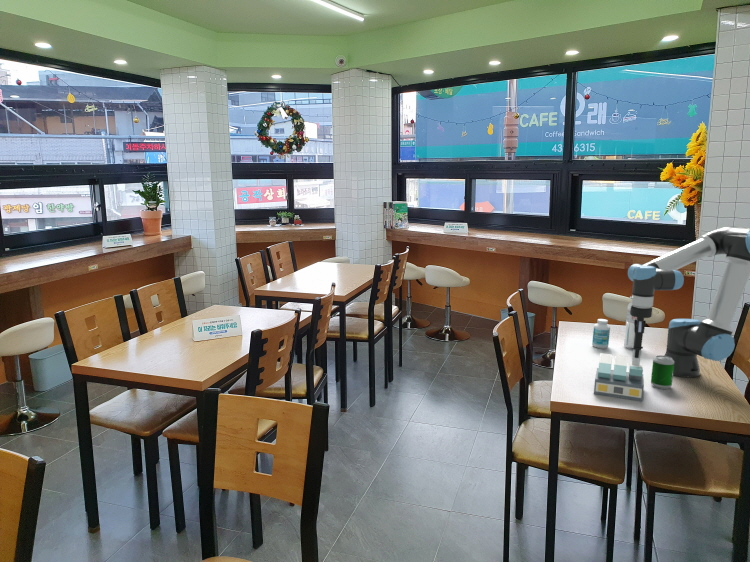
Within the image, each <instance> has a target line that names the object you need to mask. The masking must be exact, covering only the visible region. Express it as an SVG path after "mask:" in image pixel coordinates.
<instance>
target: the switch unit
mask: <svg viewBox="0 0 750 562" xmlns="http://www.w3.org/2000/svg"><path fill="white" fill-rule="evenodd" d="M598 368H599V367H597V368H596V371H595V372H596V373H595V377H594V387H593V394H594V395H599V396H605V397H606V396H607V397H613V398H619V399H625V400H626V399H627V400H632V401H637V402H638V401H640V402H643V400H644V399H643V397H644V389H645V387H644V386H645V381H644V380H645V379H644V374H643V375H642V377H641V376H634V375H629V371H626V381H622V380H615V379H613V374H614V369H611V373H610V379H608V378H601V377H598Z"/></svg>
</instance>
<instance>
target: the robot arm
mask: <svg viewBox="0 0 750 562" xmlns="http://www.w3.org/2000/svg"><path fill="white" fill-rule="evenodd" d="M717 255H718V256H719V255H725V260H726V261H727V265H726V266H725V269H724V273H723V275H722V277H721V280H720V282H719V285H718V287H717V291H716V293H715V296H714V298H713V301H712V303H711V306H710V307H709V311H708V313H707V317H706V318H705V319H703V320H699V319H694V318H674V319H671V320H670V321H669V323H668V324H669V325H668V327H667V328H668V329H667V338H666V350H665V353H664V355H663V356H668V357H671V358H672V359H673V360H674V370H673V377H675V376H676V377H681V378H696V377H699V376H700V374H701V372H700V371H701V369H700V364H699V359H698V356H699V357H702V358H704V359H706V360H711V361H715V362H721V361H723V360H725V359H727V358H728V357H730V356H731V354H732V353H733V352H734V350H735V345H736V344H735V338H734V337H733V336H732V335H733V329H732V327H731V325H732V322H733V320H734V317H735V314H736V312H737V309H738V306H739V305H740V302H741V299H742V296H743V295H744V293H745V292H744V291H745V289H746V286H747V284H748V282H749V279H750V227H740V226H732V225H730V226H724V227H720V228H716V229H714V230H712V231H709V232H706V233H704V234H702V235H700V236H699V237H697V239H696V240H695V241H692V242H690V243H688V244H685V245H684V246H681V247H679V248H677V249H675V250H672V251H669V252H668V253H665V254H663V255H661V256H659V257H656V258H655V259H653V260H650V261H648V262H645V263H644V264H642V263H633V264H632V265H630V266H629V267H628V269H627V277H628V280H630V281H632V289H631V290H632V292H631V296H629V299H630V300H631V301H630V302H631V304H632V306H631V310H630V315H631V316H633V317H637V320H634V326H635V327H634V332H635V339H634V347H632V349H631V350H632V358H631V359H632V360H631V364H632V365H639V366H640V365H641V355H642V354H641V353H642V350H643V349H644V346H642V345H643V337H644V333H645V328H646V326H647V325H646V324H647V323H646V320H645V319H650V318H651V317H652V315H653V307H654V298H655V297H654V295H655V291H674V290H679V289H681V288H682V287H683V285H684V280H685V278H684V275H683V272H681V271H680V270H679V269H681V268H683V267H686V266H688V265H690V264H692V263H694V262H697V261H699V260H701V259H704V258H705V257H706V258H712V257H714V256H717Z"/></svg>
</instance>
